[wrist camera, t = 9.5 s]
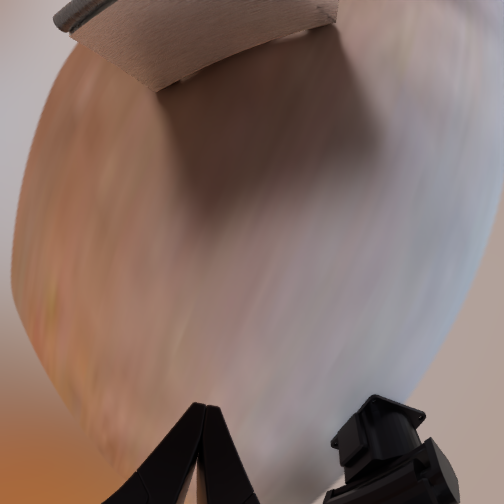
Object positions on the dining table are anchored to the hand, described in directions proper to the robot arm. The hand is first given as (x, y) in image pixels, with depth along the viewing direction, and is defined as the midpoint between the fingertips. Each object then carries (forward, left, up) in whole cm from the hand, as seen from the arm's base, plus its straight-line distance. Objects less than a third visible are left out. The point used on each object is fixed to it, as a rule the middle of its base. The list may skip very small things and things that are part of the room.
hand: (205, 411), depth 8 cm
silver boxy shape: (+14, -20, -12) cm, 28 cm away
